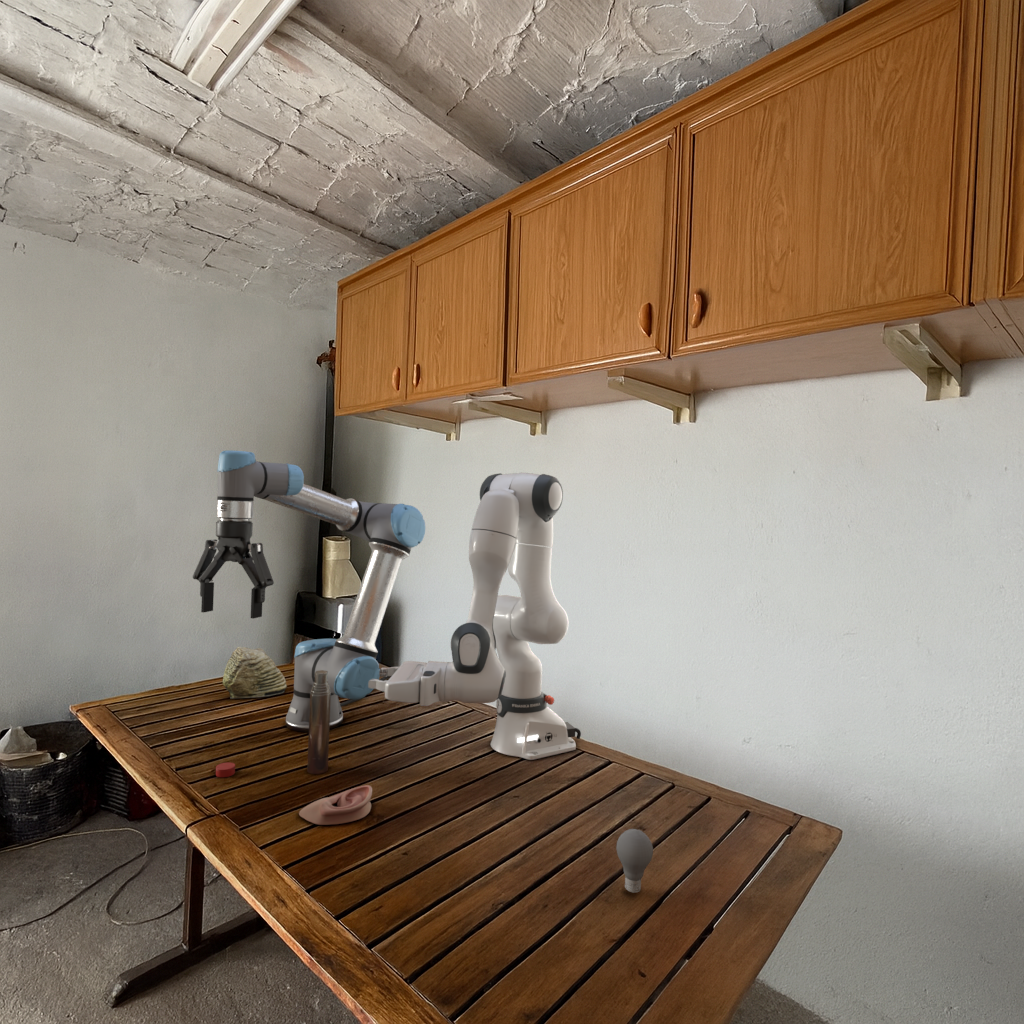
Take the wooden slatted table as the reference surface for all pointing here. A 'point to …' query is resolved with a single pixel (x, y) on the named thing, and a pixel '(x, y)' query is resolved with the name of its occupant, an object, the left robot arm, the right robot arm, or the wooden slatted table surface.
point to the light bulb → (634, 857)
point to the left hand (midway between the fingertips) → (231, 614)
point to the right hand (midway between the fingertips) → (374, 677)
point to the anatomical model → (339, 807)
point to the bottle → (319, 724)
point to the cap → (225, 769)
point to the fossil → (252, 674)
